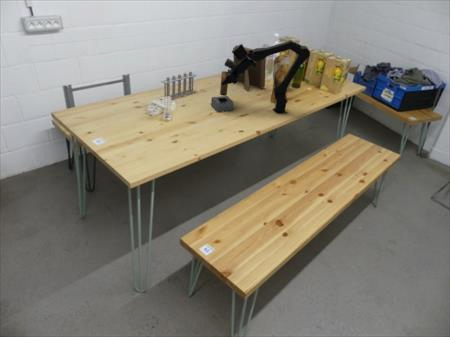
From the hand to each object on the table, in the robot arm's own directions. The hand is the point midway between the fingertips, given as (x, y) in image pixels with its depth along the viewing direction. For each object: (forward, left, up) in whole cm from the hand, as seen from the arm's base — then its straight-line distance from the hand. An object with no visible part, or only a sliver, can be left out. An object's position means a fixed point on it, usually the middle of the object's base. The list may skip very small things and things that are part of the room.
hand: (222, 83), depth 207 cm
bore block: (-4, 0, -13) cm, 14 cm away
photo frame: (+27, -29, -14) cm, 42 cm away
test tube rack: (+19, +20, -14) cm, 31 cm away
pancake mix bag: (+2, -40, -14) cm, 42 cm away
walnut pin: (-1, -1, -7) cm, 7 cm away
